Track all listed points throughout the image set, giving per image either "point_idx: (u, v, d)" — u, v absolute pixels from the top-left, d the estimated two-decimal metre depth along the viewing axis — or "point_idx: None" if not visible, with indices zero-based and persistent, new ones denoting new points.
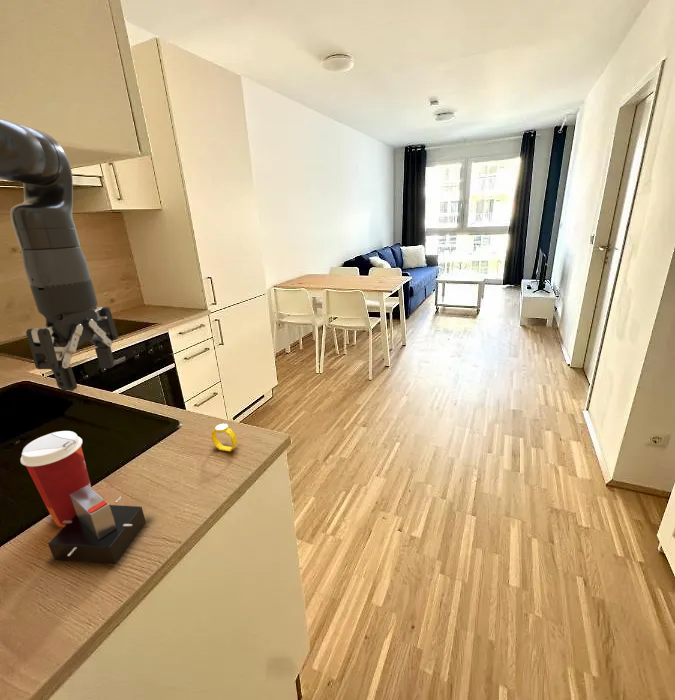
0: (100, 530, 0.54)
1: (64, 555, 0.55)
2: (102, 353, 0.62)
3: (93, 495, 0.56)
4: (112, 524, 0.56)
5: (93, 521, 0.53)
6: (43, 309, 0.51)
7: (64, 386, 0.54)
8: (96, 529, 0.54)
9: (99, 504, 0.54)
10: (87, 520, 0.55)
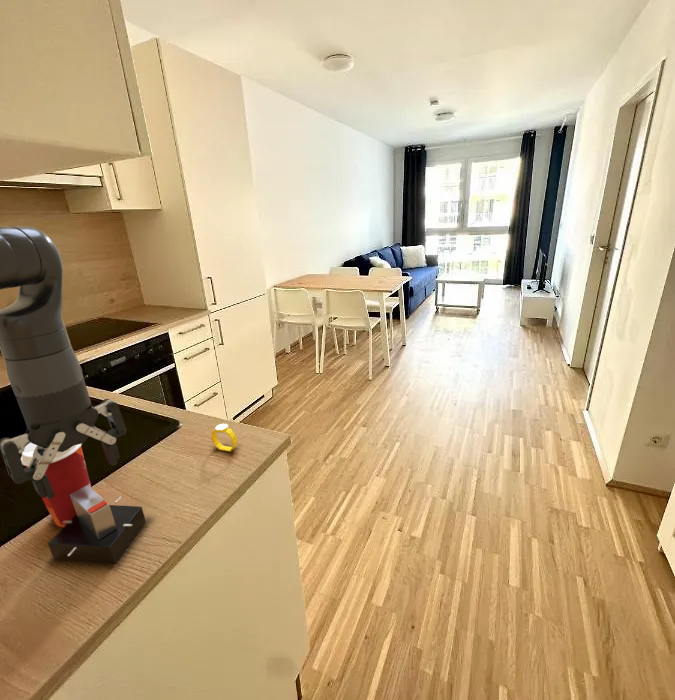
0: (100, 530, 0.54)
1: (64, 555, 0.55)
2: (106, 449, 0.56)
3: (93, 495, 0.56)
4: (112, 524, 0.56)
5: (93, 521, 0.53)
6: (23, 416, 0.47)
7: None
8: (96, 529, 0.54)
9: (99, 504, 0.54)
10: (87, 520, 0.55)
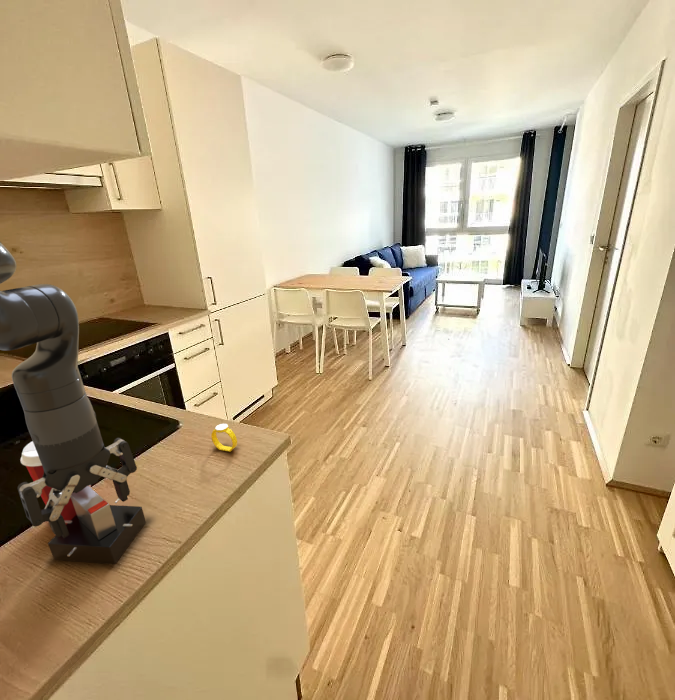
0: (100, 530, 0.54)
1: (64, 555, 0.55)
2: (117, 486, 0.59)
3: (93, 495, 0.56)
4: (112, 524, 0.56)
5: (93, 521, 0.53)
6: None
7: (55, 534, 0.52)
8: (96, 529, 0.54)
9: (99, 504, 0.54)
10: (87, 520, 0.55)
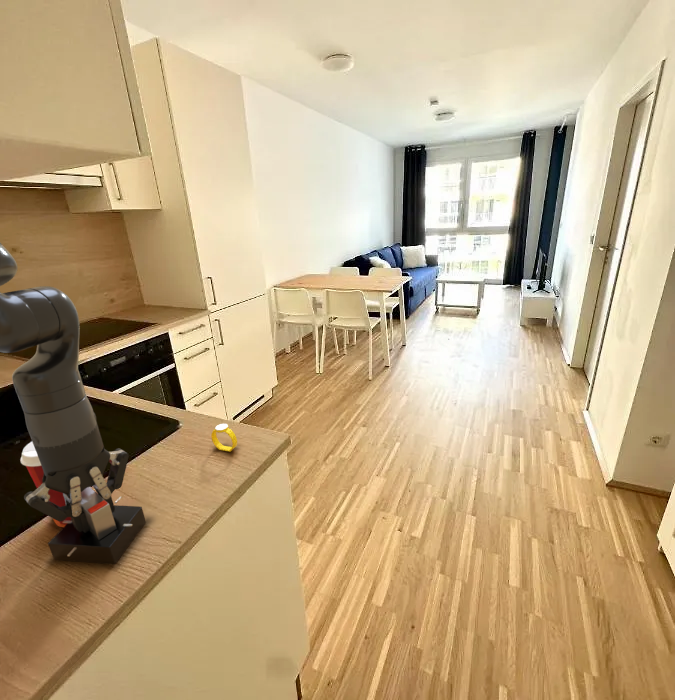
0: (100, 530, 0.54)
1: (64, 555, 0.55)
2: None
3: (93, 495, 0.56)
4: (112, 524, 0.56)
5: (93, 521, 0.53)
6: None
7: (77, 529, 0.55)
8: (96, 529, 0.54)
9: (99, 504, 0.54)
10: (87, 520, 0.55)
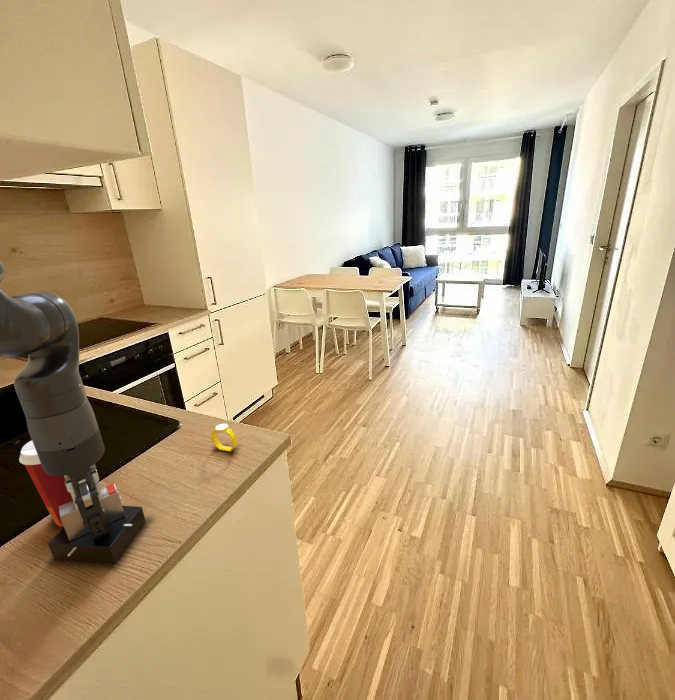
0: (122, 507, 0.58)
1: (64, 555, 0.55)
2: None
3: None
4: None
5: (119, 498, 0.57)
6: (71, 469, 0.49)
7: (102, 533, 0.54)
8: (121, 506, 0.58)
9: (110, 487, 0.57)
10: None
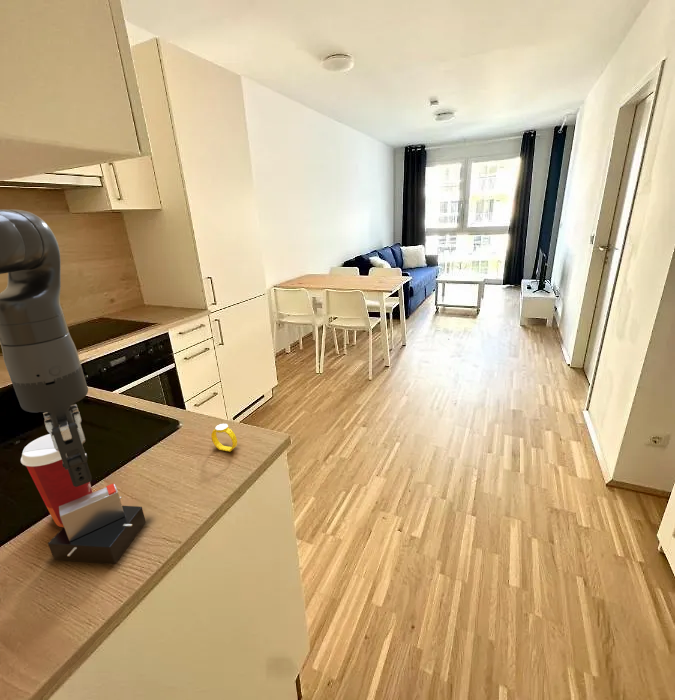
0: (122, 507, 0.58)
1: (64, 555, 0.55)
2: None
3: (86, 496, 0.56)
4: None
5: (119, 498, 0.57)
6: (50, 405, 0.46)
7: (85, 479, 0.50)
8: (121, 506, 0.58)
9: (110, 487, 0.57)
10: (103, 512, 0.56)
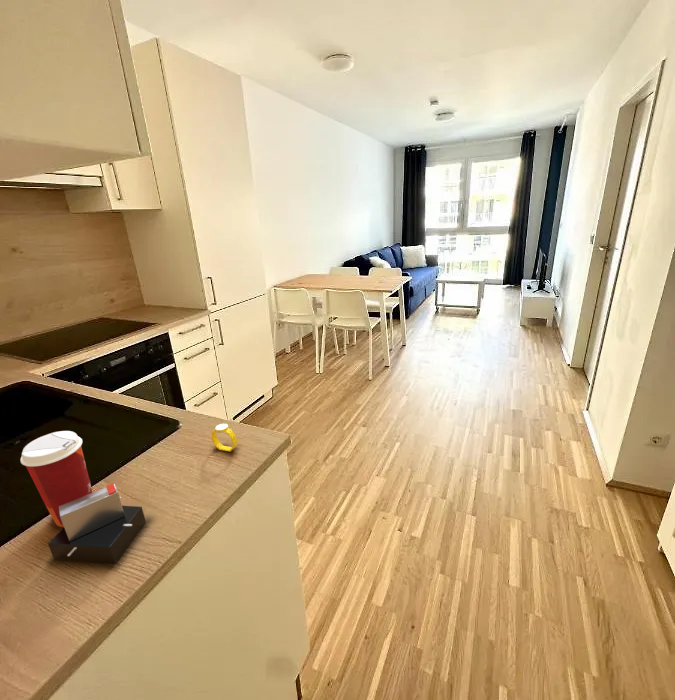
0: (122, 507, 0.58)
1: (64, 555, 0.55)
2: None
3: (86, 496, 0.56)
4: None
5: (119, 498, 0.57)
6: None
7: None
8: (121, 506, 0.58)
9: (110, 487, 0.57)
10: (103, 512, 0.56)
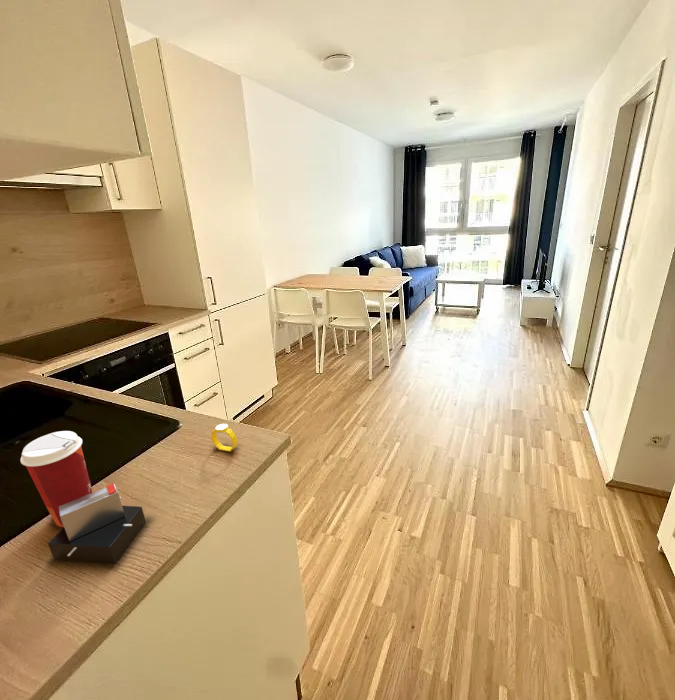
0: (122, 507, 0.58)
1: (64, 555, 0.55)
2: None
3: (86, 496, 0.56)
4: None
5: (119, 498, 0.57)
6: None
7: None
8: (121, 506, 0.58)
9: (110, 487, 0.57)
10: (103, 512, 0.56)
